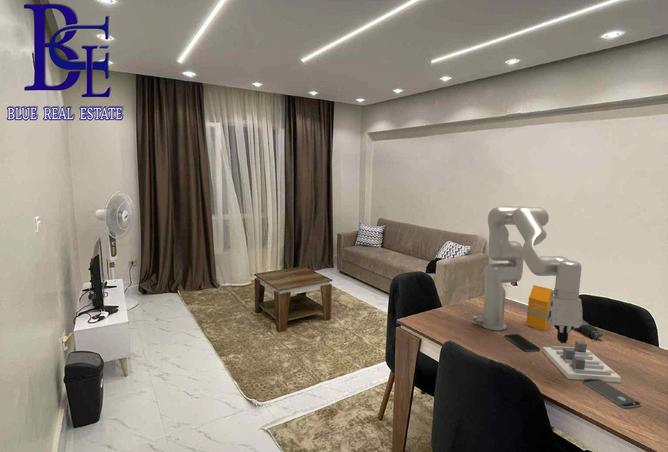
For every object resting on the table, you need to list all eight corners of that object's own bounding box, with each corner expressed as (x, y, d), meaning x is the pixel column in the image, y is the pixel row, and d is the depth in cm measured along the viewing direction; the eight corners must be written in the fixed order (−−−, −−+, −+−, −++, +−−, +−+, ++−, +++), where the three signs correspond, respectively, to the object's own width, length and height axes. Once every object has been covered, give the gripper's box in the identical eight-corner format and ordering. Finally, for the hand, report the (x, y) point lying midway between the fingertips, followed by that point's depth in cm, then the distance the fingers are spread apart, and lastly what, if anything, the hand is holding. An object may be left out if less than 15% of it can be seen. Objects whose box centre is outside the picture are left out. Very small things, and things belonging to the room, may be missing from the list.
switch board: (567, 378, 134) (568, 370, 133) (542, 351, 155) (543, 344, 154) (620, 382, 132) (621, 374, 131) (587, 354, 153) (588, 347, 152)
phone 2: (580, 382, 132) (624, 410, 117) (580, 380, 132) (624, 407, 117) (597, 380, 134) (642, 407, 119) (597, 377, 134) (642, 404, 118)
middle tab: (565, 361, 142) (566, 350, 142) (562, 358, 145) (563, 347, 144) (573, 361, 142) (575, 351, 141) (570, 358, 144) (571, 348, 144)
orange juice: (544, 331, 175) (549, 291, 172) (526, 325, 181) (529, 286, 178) (551, 326, 179) (555, 288, 177) (532, 321, 186) (536, 283, 183)
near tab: (575, 371, 135) (576, 360, 135) (571, 367, 138) (572, 356, 137) (583, 371, 135) (585, 360, 134) (580, 367, 138) (581, 357, 137)
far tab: (577, 354, 148) (578, 343, 148) (574, 350, 151) (575, 341, 150) (585, 354, 148) (586, 344, 147) (582, 351, 150) (583, 341, 150)
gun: (564, 320, 187) (572, 305, 182) (595, 350, 169) (604, 334, 165) (557, 321, 186) (564, 306, 181) (587, 351, 169) (596, 335, 164)
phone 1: (525, 350, 154) (503, 335, 168) (525, 353, 154) (502, 337, 168) (541, 349, 155) (518, 333, 170) (541, 351, 155) (518, 336, 170)
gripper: (549, 296, 130) (545, 345, 132) (594, 298, 128) (589, 347, 131) (540, 290, 137) (536, 336, 140) (582, 291, 136) (577, 338, 138)
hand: (562, 341), depth 135 cm, fingers closed
